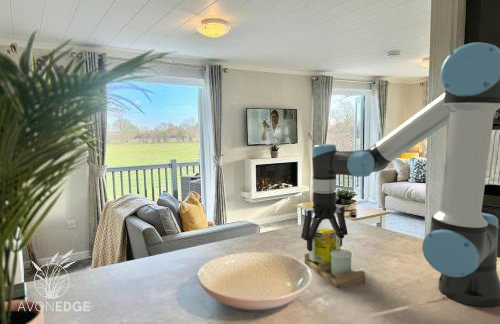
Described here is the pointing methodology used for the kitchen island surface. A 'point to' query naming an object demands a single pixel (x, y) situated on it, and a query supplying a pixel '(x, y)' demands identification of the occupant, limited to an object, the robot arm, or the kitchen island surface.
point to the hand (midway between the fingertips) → (324, 257)
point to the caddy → (339, 280)
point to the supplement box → (324, 245)
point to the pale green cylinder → (340, 262)
